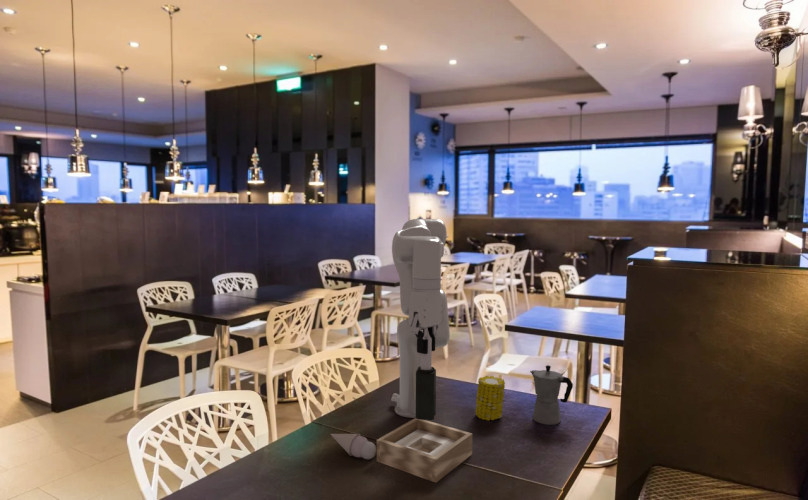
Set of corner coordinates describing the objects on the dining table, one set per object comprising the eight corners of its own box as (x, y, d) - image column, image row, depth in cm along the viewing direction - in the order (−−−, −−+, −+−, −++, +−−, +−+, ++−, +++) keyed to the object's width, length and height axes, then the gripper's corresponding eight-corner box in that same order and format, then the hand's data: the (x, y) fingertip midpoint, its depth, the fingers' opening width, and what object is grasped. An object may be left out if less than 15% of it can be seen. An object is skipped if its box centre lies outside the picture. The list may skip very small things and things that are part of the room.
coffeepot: (521, 417, 174) (522, 363, 173) (537, 409, 180) (538, 358, 179) (563, 431, 163) (565, 374, 161) (578, 423, 169) (580, 368, 168)
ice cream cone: (328, 447, 151) (373, 467, 145) (320, 441, 146) (366, 461, 140) (338, 426, 154) (382, 445, 148) (331, 420, 149) (376, 439, 143)
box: (376, 461, 143) (376, 439, 143) (416, 436, 159) (416, 417, 158) (435, 482, 132) (436, 459, 132) (472, 454, 148) (472, 433, 147)
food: (487, 413, 180) (506, 424, 173) (463, 413, 174) (483, 424, 167) (496, 373, 181) (516, 382, 173) (473, 371, 174) (492, 380, 167)
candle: (433, 420, 141) (434, 328, 139) (414, 419, 142) (415, 327, 140) (436, 413, 146) (437, 324, 144) (418, 411, 147) (418, 323, 145)
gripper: (431, 280, 150) (430, 343, 152) (397, 286, 137) (397, 356, 139) (454, 282, 146) (453, 347, 147) (421, 289, 133) (420, 361, 134)
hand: (426, 351), depth 143 cm, fingers closed on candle, 3 cm apart
